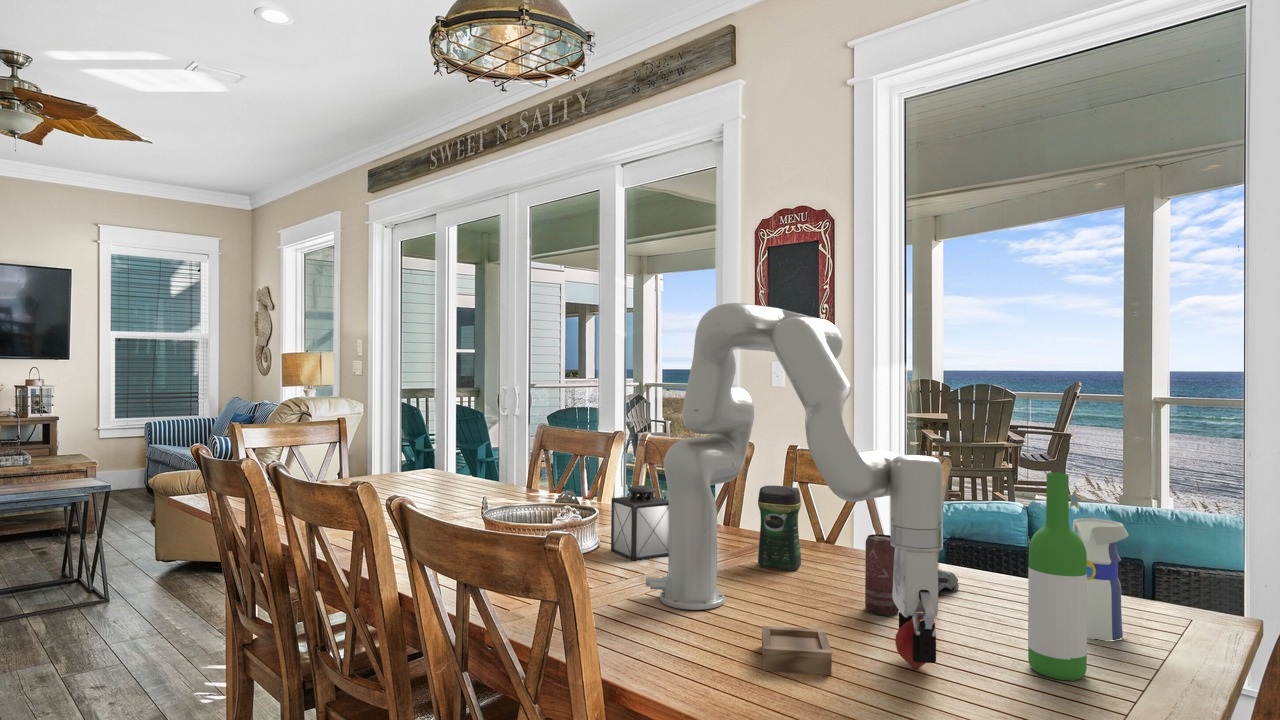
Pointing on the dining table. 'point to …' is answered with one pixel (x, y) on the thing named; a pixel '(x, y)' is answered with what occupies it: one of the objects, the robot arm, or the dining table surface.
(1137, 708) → the dining table surface
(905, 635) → the onion
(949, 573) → the fossilized seashell
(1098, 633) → the white spray bottle
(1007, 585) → the dining table surface
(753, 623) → the dining table surface
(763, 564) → the coffee jar
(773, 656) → the wooden square tray
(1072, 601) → the wine bottle
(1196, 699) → the dining table surface
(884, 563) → the can
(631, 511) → the lantern
